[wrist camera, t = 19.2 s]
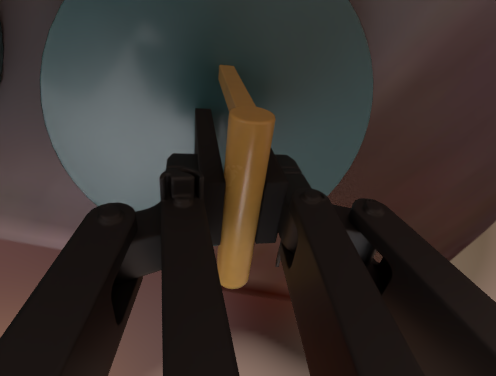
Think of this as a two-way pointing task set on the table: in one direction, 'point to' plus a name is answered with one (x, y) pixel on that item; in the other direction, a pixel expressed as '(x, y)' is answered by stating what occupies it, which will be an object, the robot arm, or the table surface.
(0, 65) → the tin
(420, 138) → the table surface
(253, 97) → the tin lid
